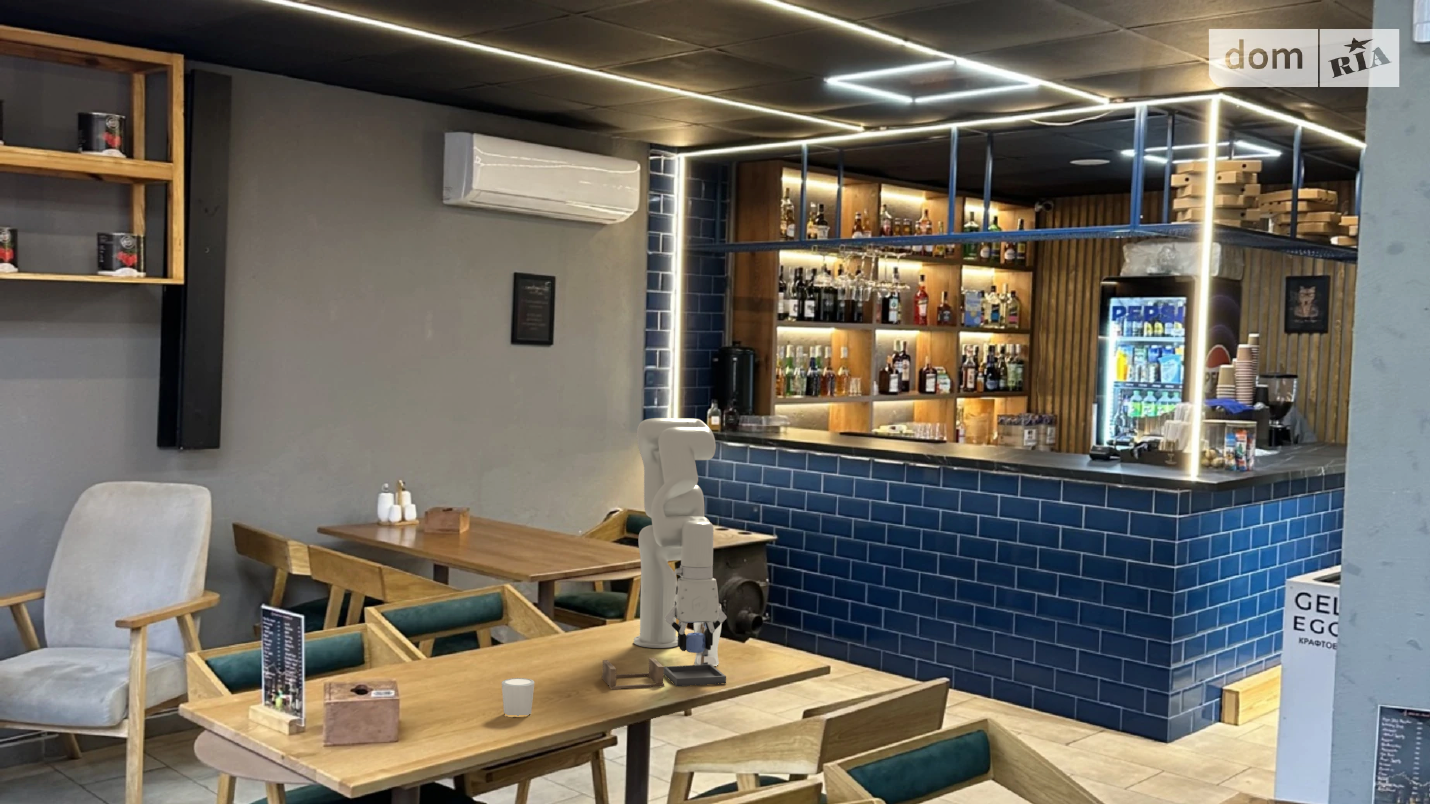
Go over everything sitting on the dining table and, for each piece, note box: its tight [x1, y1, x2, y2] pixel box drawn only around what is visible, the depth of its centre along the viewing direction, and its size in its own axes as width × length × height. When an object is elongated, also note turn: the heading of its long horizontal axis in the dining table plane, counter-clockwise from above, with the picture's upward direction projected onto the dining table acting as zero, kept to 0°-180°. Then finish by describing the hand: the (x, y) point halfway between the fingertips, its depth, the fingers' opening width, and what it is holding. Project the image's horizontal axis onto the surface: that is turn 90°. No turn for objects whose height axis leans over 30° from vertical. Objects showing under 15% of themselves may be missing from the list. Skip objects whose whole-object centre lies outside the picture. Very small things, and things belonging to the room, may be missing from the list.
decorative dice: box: [686, 632, 706, 654], centre depth 307 cm, size 4×4×4 cm
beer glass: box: [693, 603, 723, 667], centre depth 321 cm, size 7×7×15 cm
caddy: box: [601, 657, 665, 690], centre depth 303 cm, size 11×12×4 cm
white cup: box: [501, 677, 535, 716], centre depth 274 cm, size 7×7×7 cm
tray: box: [663, 664, 727, 687], centre depth 307 cm, size 12×12×2 cm
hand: (695, 648), depth 307 cm, fingers closed on decorative dice, 5 cm apart
